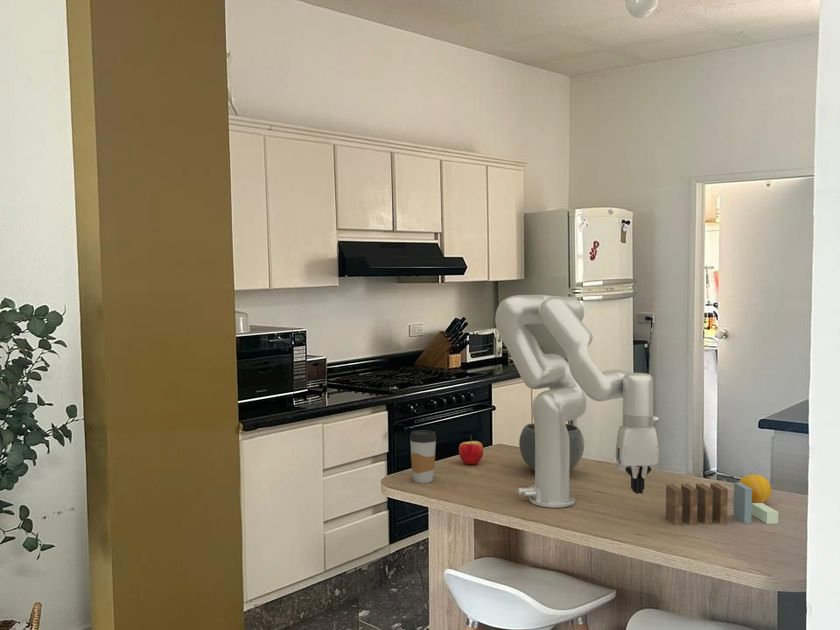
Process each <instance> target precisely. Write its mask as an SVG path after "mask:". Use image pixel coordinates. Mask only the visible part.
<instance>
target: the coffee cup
mask: <svg viewBox="0 0 840 630" xmlns="http://www.w3.org/2000/svg"><path fill="white" fill-rule="evenodd" d="M435 433H436V432H435V431H432V430H428V429H427V430H426V429H423V430H422V429H419V430H413V431H411V434H410V435H409V443H410V461H411V473H412V480H413V482H415V483H418V484H428V483H431V482H433V480H434V475H435V474H434V473H435V464H436V446H437V445H436V443H437V442H436V441H437V435H436V434H435Z"/></svg>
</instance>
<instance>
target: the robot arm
mask: <svg viewBox="0 0 840 630" xmlns="http://www.w3.org/2000/svg"><path fill="white" fill-rule="evenodd" d="M584 318H585V309H584V306H583V304H582V303H581V302H580V301H579V300H578V299H577V298H576V297H572V296H561V295H560V296H559V295H550V294H547V295H546V294H518V295H512V296H508V297H506V298H504V299H502V300H501V301H500V303H499V304H498V306H497V308H496V312H495V320H494V321H495V327H496V330H497V333H498V335H499V337H500V339H501V340H502V342H503V344H504V345H505V347H506V349H507V351H508V353H509V354H510V357H511V359H512V361H513V363H514V366H515V368H516V370H517V372H518V373H519V376H520V378H521V380H522V381H523V383H524V385H525V386H526V387H527V388H529V389H531V390H540V389H545V388H546V389H547V388H548V390H544V391H541V392H540V393H538V394H537V395H536V396H535V398H534V399H533V401H532V405H531V412H532V414H531V415H532V418H533V423H534V426H535V470H534V483H532V484H531V485H532V486H529V487H518V488H517V493H518V495H520V496H521V495H523V496H524V497H529V498H528V500H529V502H530V504H531V503H532V504H533V505H535V506H537V507H543V508H552V509H553V508H554V509H555V508H556V509H558V508H567V507H571V506H573V505H574V504H575V502H576V500H575V499H576V498H575V497H574V496H573V495H571V494H570V471H569V462H570V440H569V434H568V430H567V428H566V424H567V423H566V422H570V421H574V420H577V419H579V418H581V417H582V416H583V415H584V414H585V413H586V410H587V399H586V398H587V397H588V398H590V399H591V400H593V401H596V402H606V401H610V400H611V401H612V400H617V399H621V398H622V425H619V426H618V431H617V436H616V446H615V447H616V448H615V461H616V462H617V464H616V469H617V470H619V471H622V472H626V473H627V474H628V475H629V476H630V489H631V491H632V492H633V493H635V494H636V495H638V494H641V495H642V494H643V493H644V490H645V478H646V477H647V475H648V474H649V473H650V472H652V471H656V470H658V469H659V467H660V466H659V462H660V449H659V440H658V433H657V430H656V429H657V428H656V427H655V423H657V422H659V416H655V415H654V378H653V376H652V374H649V373H645V372H629V371H626V370H622V369H610V370H604V371H601V370H600V369H599V368H598V366H597V364H595V363H594V362H593V360H592V358H591V356H590V354H589V349H588V348H589V346H590V345H591V344H592V343H593V342H592V341H593V334H592V333H591V331H590V330H589V329H588V328H587V327H586V325H585V324H584V323H583V319H584ZM533 324H543V325H544V326H545V328H547V330H548V331H549V333H550V335H552V337H553V338H554V339H555V340H556V341H557V343H558V344H559V345H560V347H561V349H563V351H564V352H565V354H566V358H567V360H566V359H565V358H564V357H562V355H559V354H557V353H556V354H555V353H548V354H547V353H544V352H543V350H542V349H541V347H540V346H539V343H538V341H537V339H536V337H535V336H534V335H533V334H532V333H531V331H529V330H528V329H527V328H526V327H525V325H533ZM585 395H586V396H587V397H586V396H585ZM637 467H638V471H637Z"/></svg>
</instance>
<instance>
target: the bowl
mask: <svg viewBox="0 0 840 630" xmlns="http://www.w3.org/2000/svg"><path fill="white" fill-rule="evenodd" d="M565 424H566V428H567V430H568V434H569V440H570V462H569V472H571V471H572V470H573V469H574V468H575V467H576V466H577V465H578V463H580V460H581V458H582V457H583V454H584V450H585V440H584V436H583V433H582V431H581V430H580V428H579V427H578V426H576V425H573V424H570V423H565ZM519 436H520V437H519V445H518V446H519V451H520V455H521V457H522V459H523V461H524V462H525V463H526V465H527V466H528V467H530V469H531V470H534V471H535V426H534V422H532V423H528V424H526V425H524V427H523V429H522V431H521V433H520V435H519Z"/></svg>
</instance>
